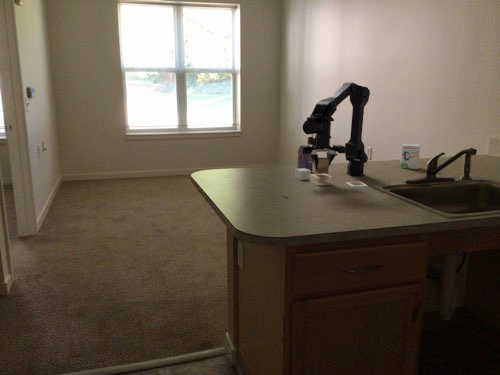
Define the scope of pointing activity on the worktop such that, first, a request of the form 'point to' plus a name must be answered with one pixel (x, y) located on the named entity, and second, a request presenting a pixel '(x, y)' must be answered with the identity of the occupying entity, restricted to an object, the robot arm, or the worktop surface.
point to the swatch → (356, 184)
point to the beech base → (320, 179)
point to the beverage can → (304, 161)
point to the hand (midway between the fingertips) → (321, 169)
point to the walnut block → (322, 166)
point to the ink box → (410, 156)
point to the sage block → (302, 174)
